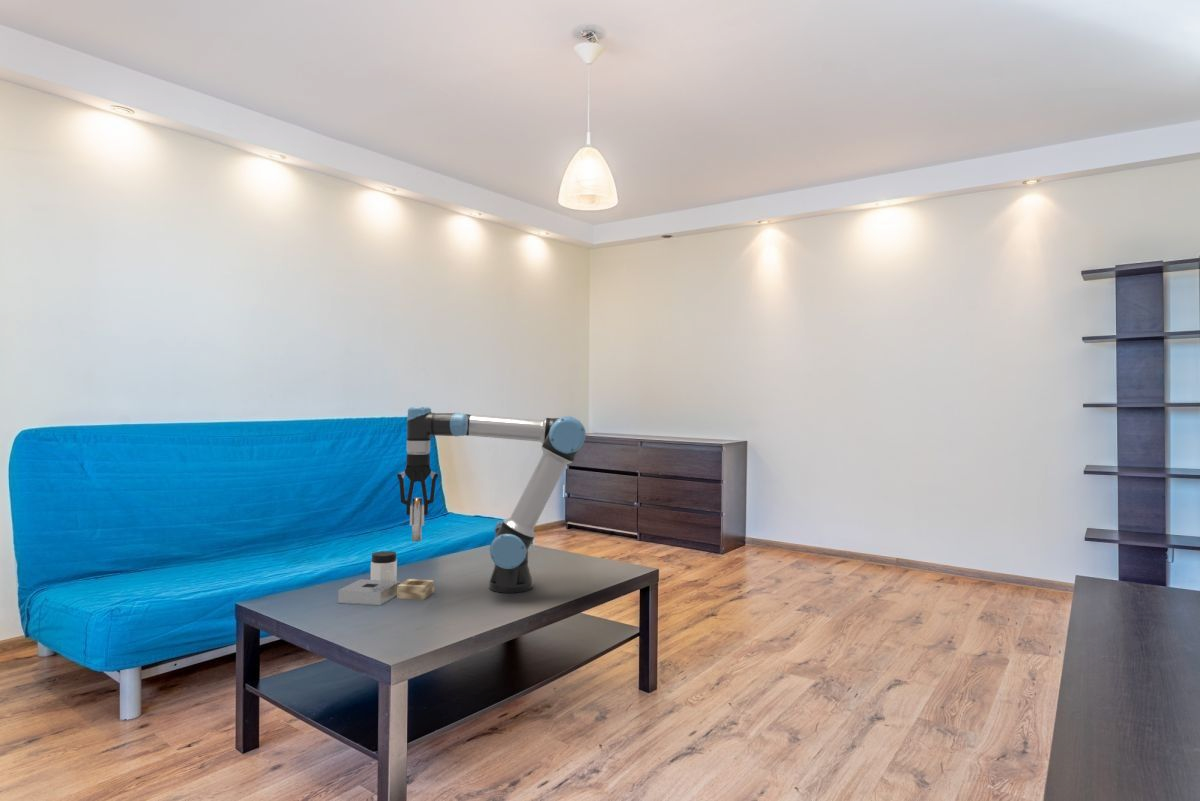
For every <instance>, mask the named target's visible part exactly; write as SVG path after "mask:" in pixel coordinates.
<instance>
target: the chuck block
mask: <svg viewBox="0 0 1200 801" xmlns="http://www.w3.org/2000/svg"><path fill="white" fill-rule="evenodd" d="M399 584H401V581H400V580H397V581H384V580H371V579H364V578H363V579H361V578H360V579H358V580H356V581H354V582H352V583H349V584H347V585H346V586H344V587H342V588H339V589H338V592H337V593H338V594H337V595H338V597H337V598H338V600H337V601H338V602H337V603H338V604H348V605H349V604H351V605H364V606H365V605H366V606H367V605H368V606H369V605H370V606H383V604H385V603H387V602H388V601H390V600H392V599H394V598H395V597H397V585H399Z"/></svg>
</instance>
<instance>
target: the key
mask: <svg viewBox="0 0 1200 801" xmlns="http://www.w3.org/2000/svg"><path fill="white" fill-rule="evenodd" d="M422 504H423V497H412V505H413V518H412V526H411V541H412V542H421V541H422V529H423V528H422V526H423V525H421V517H422Z"/></svg>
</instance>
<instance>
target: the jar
mask: <svg viewBox="0 0 1200 801" xmlns="http://www.w3.org/2000/svg"><path fill="white" fill-rule="evenodd" d="M397 572H398V559H397V552H396V551H393V550H385V551H375V552H373V553H372V554H371V561H370V580H384V581H398V579H397V577H398V576H397V574H398V573H397Z"/></svg>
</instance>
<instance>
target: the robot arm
mask: <svg viewBox="0 0 1200 801" xmlns="http://www.w3.org/2000/svg"><path fill="white" fill-rule="evenodd" d="M406 418H407V420H406V436H407V437H406V452H407V454H406V462H405V463H406V466H405V469H404V471H402V472H399V473H397V474H396V477H397V479H398V481H399V489H400V490H399V493H400V495H399V496H400V503H401V504H404V505H406V515H407V516H409V526H411V527H412V518H413V504H411V503H412V500H413V493H414V486H415V483H417V482H419V483H420V484H421V492H422V501H423V503H422V517H421V525H422V526H425V516H427V515H428V514H429V505H431V504H433V503H434V499H435V494H436V493H435V492H436V491H435V489H436V483H437V481H436V480H438V477H439V473H438V472H434V471H432V469H431V455H430V452H431V436H440V437H441V436H443V437H464V436H466V437H469V436H471V437H479V438H480V437H481V438H491V439H492V438H495V439H502V440H504V439H505V440H517V441H525V442H526V441H529V442H540V443H541V450H542V454H541V457H540V459H539V461H538V462H537V465H536V467H535V468H534V470H533V473H532V474H531V477H530V478H529V480H528V481H527V484H526V486H525V488H524V489H523V492H522V495H521V496H520V498H519V499H518V501H517V504H516V506H515V508H514V509H513V512H512V513H511V516H510V517H508V518H505V519H504V520H503V521H498V522H496V523H495V528H494V532H495V534H494V535H495V536H494V539H492V541H491V543H490V546H489V555H490V558H491V560H492V562H493V563H494V566H493V569H492V573H491V575H490V578H489V582H488V589H489V590H491V591H493V592H498V593H505V594H506V593H507V594H513V593H515V592H516V593H522V591H523V592H527V591H529V590H528V589H530V590H532V589H533V587H534V586H533V578H532V575H531V572H530V567H529V548H530V546H531V544H532V543H533V541H534V539H535V537H536V534H535V531H534V528H535V526H536V525H537V523H538V520H539V519H540V517H541V515H542V513H543V511H544V508H545V507H546V505H547V503H548V501H549V499H550V497H551V495H552V494H553V492H554V489H555V487H556V485H557V484H558V482H559V480H560V478H561V476H562V473H563V471H564V470H565V468H566V466H567V465H570V464H572V463H573V462H574V460H575V458H576V456H577V455H578V453H579V450H580V449H581V447H583V445H584V443H585V440H586V436H587V434H586V429H585V427H584V425H583V423H582V422H581V421H580V420H579V419H577V418H576V417H572V416H569V415H568V416H562V417H544V418H543V419H531V418H530V419H529V418H518V417H507V416H494V415H493V416H492V415H481V414H470V413H460V412H450V413H449V412H448V413H447V412H444V413H443V412H441V413H439V412H438V413H436V412H432V409H431V407H430V406H410V407H409V408H408V409H407V417H406ZM429 475H430V478H431V479H432V480H431V486H430V496H429V499H428V492H427V485H426V480H427V478H428V477H429ZM406 476H407V478H408V479H409V480H410V481H409V488H408V494H407V498H406V493H405V490H406V489H405V480H404V479H405V477H406ZM532 586H533V587H532ZM531 588H532V589H531ZM526 590H527V591H526Z"/></svg>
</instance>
